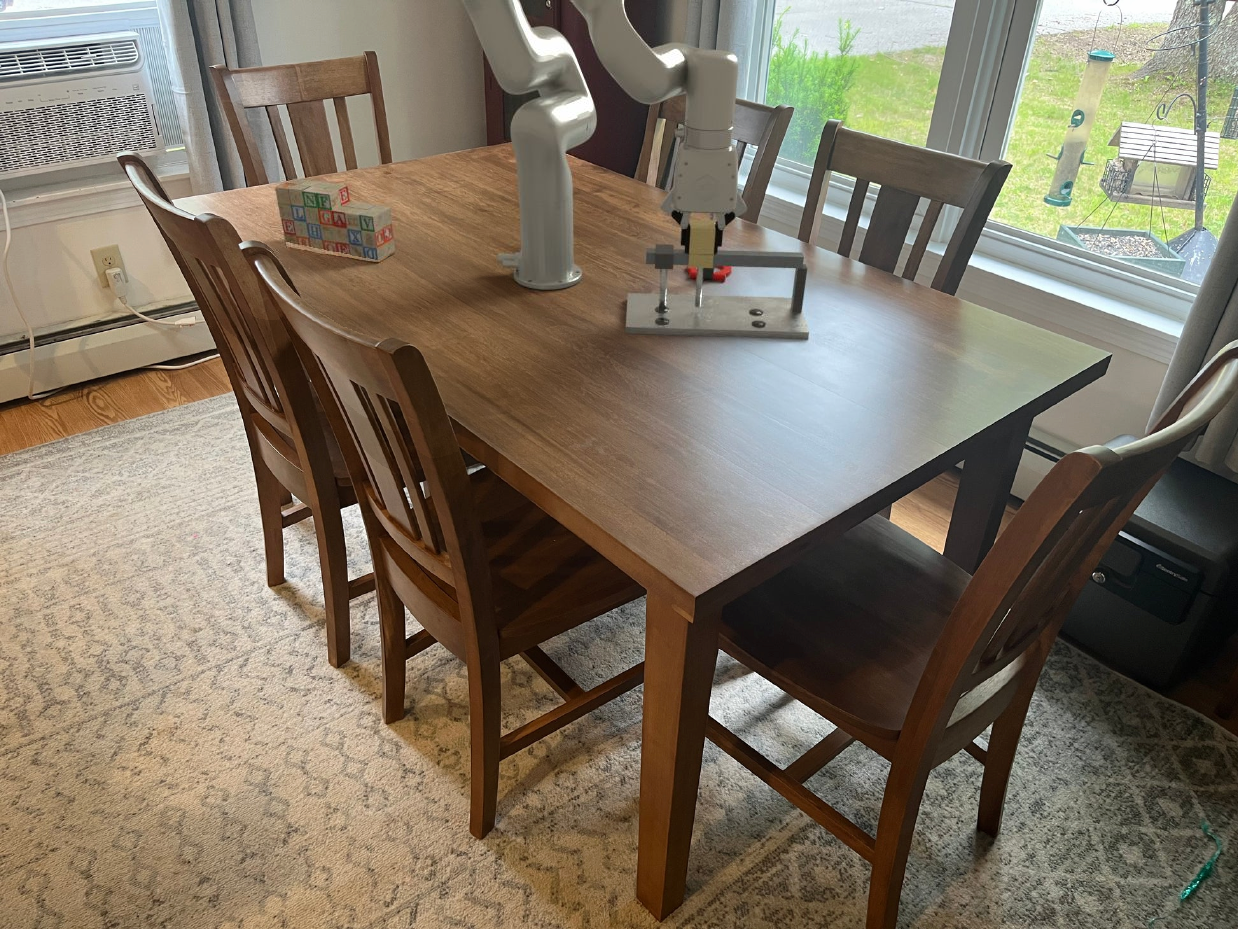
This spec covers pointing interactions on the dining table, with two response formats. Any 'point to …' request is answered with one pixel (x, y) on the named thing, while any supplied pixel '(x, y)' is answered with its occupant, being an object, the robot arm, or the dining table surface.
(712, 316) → the hole plate
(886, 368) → the dining table surface
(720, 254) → the beam
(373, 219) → the stack of blocks
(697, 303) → the carriage
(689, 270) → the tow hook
